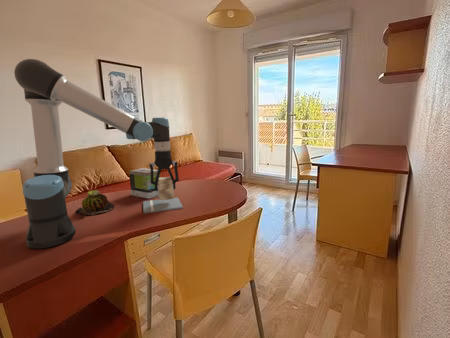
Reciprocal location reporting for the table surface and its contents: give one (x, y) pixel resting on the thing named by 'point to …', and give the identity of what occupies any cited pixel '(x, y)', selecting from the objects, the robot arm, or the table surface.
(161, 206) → the board
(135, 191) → the tea box
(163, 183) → the beech block
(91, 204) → the cactus
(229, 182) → the table surface
